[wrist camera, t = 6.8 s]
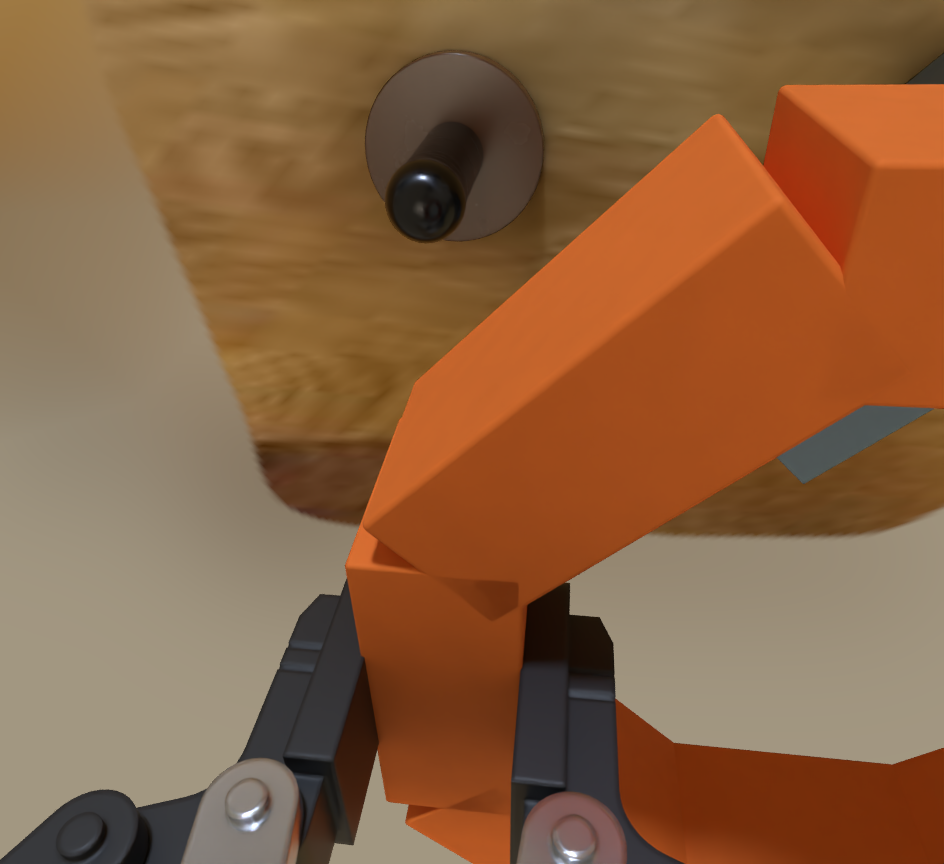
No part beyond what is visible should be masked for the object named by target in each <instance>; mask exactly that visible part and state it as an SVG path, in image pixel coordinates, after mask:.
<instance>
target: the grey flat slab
mask: <svg viewBox="0 0 944 864" xmlns="http://www.w3.org/2000/svg"><path fill="white" fill-rule="evenodd" d="M906 84H944V53H943V54H942V55H941V56H939V57H938V58H937V59H936V60H935V61H933V62H932V63H931V64H930V65H928V66H927V67H926V68H925V69H924V70H922V71H921V72H920V73H919V74H917V75H916V76H915V77H914V78H913V79H911V80H910V81H909V82H908V83H906ZM933 409H934V408H917V407H894V406H872V405H864V406H863V407H861V408H859V409H857V410H856V411H854V412H852V413H851V414H849V415H847V416H846V417H844V418H842V419H841V420H839V421H837V422H835V423H834V424H832V425H830V426H829V427H827V428H825V429H824V430H822V431H820V432H819V433H817V434H815V435H813V436H812V437H810V438H808V439H807V440H805V441H803V442H802V443H800V444H798V445H797V446H795V447H793V448H792V449H790V450H788V451H786V452H785V453H783V454H781V455H780V456H778V457H777V458H778V459H779V460H780V461H781V462H782V463H783V464H784V465H785V466H786V467H787V468H788V469H789V470H790V471H791V472H792V473H793V474H794V475H795V476H796V477H797V478H798V479H799V480H800V481H801V482H802V483H803V484H805V483H806V482H808V481H810V480H811V479H813V478H815V477H817V476H818V475H820V474H822V473H824V472H825V471H827V470H829V469H830V468H832V467H834V466H836V465H837V464H839V463H841V462H843V461H844V460H846V459H848V458H850V457H851V456H853V455H855V454H856V453H858V452H860V451H862V450H863V449H865V448H867V447H869V446H870V445H872V444H874V443H875V442H877V441H879V440H881V439H882V438H884V437H886V436H888V435H889V434H891V433H893V432H895V431H896V430H898V429H900V428H901V427H903V426H905V425H907V424H908V423H910V422H912V421H914V420H915V419H917V418H919V417H920V416H922V415H924V414H926V413H927V412H929V411H931V410H933Z"/></svg>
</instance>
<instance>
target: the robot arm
mask: <svg viewBox="0 0 944 864" xmlns="http://www.w3.org/2000/svg"><path fill="white" fill-rule="evenodd" d="M569 606H570V583H563V584H562V585H560V586H558V587H557V588H555V589H553V590H552V591H550V592H548V593H546V594H545V595H543V596H541V597H540V598H538V599H536V600H535V601H533V602H531V603H530V604H528V605H527V617H526V630H525V642H524V655H523V667H522V669H521V670H520V681H519V693H518V705H517V717H516V729H515V740H514V752H513V764H512V776H511V818H510V864H685V863H683V862H680V861H678V860H676V859H674V858H672V857H670V856H668V855H666V854H664V853H662V852H661V851H659V850H657V849H656V848H654V847H653V846H652V845H650V844H649V843H648V842H647V841H645V840H644V839H643V838H642V837H641V836H640V835H639V833H638V832H637V831H636V830H635V828H634V827H633V826H632V824H631V823H630V821H629V819H628V818H627V815H626V813H625V811H624V809H623V805H622V802H621V798H620V790H619V768H618V745H617V721H616V702H615V678H614V653H613V652H614V650H613V642H612V640H611V638H610V636H609V635H608V632H607V631H606V629H605V627H604V625H603V623H602V621H601V619H600V617H589V616H578V615H569ZM378 745H379V740H378V734H377V728H376V723H375V717H374V711H373V705H372V699H371V693H370V687H369V681H368V675H367V670H366V664H365V658H364V657H363V656H361V654H360V648H359V642H358V637H357V631H356V625H355V619H354V614H353V608H352V602H351V597H350V591H349V585H348V580H347V579H346V582H345V585H344V587H343V590H342V593H341V596H337V595H325V594H320V595H319V596H318V597H317V598H316V599H315V600H314V601H313V602H312V604H311V605H310V606H309V607H308V608H307V609H306V610H305V611H304V612H303V613H302V614H301V615H300V616H299V619H298V621H297V623H296V626H295V628H294V631H293V633H292V636H291V638H290V640H289V646H288V648H286V650H285V653H284V655H283V658H282V660H281V662H280V668H279V669H278V670H277V672H276V675H275V677H274V679H273V682H272V684H271V687H270V689H269V691H268V694H267V696H266V699H265V701H264V704H263V706H262V709H261V711H260V713H259V716H258V719H257V721H256V723H255V725H254V728H253V731H252V733H251V735H250V738H249V740H248V743H247V745H246V747H245V749H244V751H243V754H242V755H241V757H240V759H239V760H238V762H237V763H236V764H235V765H233V766H231V767H229V768H227V769H226V770H225V771H223V772H222V773H221V774H220V775H219V776H218V777H217V778H216V779H214V781H213V782H212V783H211V784H210V786H209V787H208V788H207V789H205V790H203V791H201V792H199V793H196V794H194V795H190V796H187V797H183V798H179V799H174V800H170V801H165V802H161V803H156V804H152V805H148V806H143V807H138V808H136V807H135V805H134V803H133V802H132V801H131V799H130V798H129V797H127V796H126V795H124V794H123V793H120V792H118V791H113V790H97V791H91V792H88V793H85V794H82V795H80V796H78V797H76V798H74V799H72V800H70V801H69V802H67V803H66V804H64V805H63V806H61V807H60V808H59V809H58V810H56V811H55V812H54V813H53V814H52V815H51V816H49V818H47V819H46V820H45V821H44V822H43V823H42V824H40V825H39V826H38V827H37V828H36V829H35V830H34V831H32V832H31V833H30V834H29V835H28V836H27V837H26V838H25V839H23V841H21V842H20V843H19V844H18V845H17V846H15V847H14V848H13V849H12V850H11V851H10V852H9V853H8V854H7V855H5V856H4V857H3V858H2V859H1V860H0V864H329V861H330V857H331V853H332V850H333V846H334V843H339V844H347V845H354V840H355V837H356V833H357V828H358V825H359V821H360V817H361V812H362V809H363V804H364V801H365V796H366V793H367V788H368V785H369V780H370V777H371V772H372V769H373V765H374V760H375V756H376V753H377V749H378Z"/></svg>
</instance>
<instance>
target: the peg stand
mask: <svg viewBox="0 0 944 864" xmlns="http://www.w3.org/2000/svg"><path fill="white" fill-rule="evenodd" d="M365 150H366V159H367V164H368V169H369V172H370V175H371V178H372V181H373V183H374V185H375V187H376V189H377V191H378V193H379V195H380V196H381V198H382V200H383V201H384V202H385V208H386V212H387V215H388V217H389V220H390V222H391V223H392V225H393V226H394V228H395V229H396V230H397V231H398V232H399V233H400V234H401V235H403V236H404V237H406V238H407V239H410V240H412V241H415V242H419V243H434V242H438V241H441V240H447V241H469V240H475V239H480V238H483V237H486V236H489V235H491V234H493V233H495V232H497V231H499V230H501V229H502V228H504V227H505V226H507V225H508V224H510V223H511V222H512V221H513V220H514V219H515V218H516V217H517V216H518V215H519V214H520V213H521V212H522V211H523V210H524V208H525V207H526V205H527V204H528V202H529V201H530V199H531V198H532V196H533V194H534V192H535V190H536V187H537V184H538V182H539V179H540V175H541V170H542V165H543V158H544V135H543V129H542V124H541V120H540V117H539V114H538V111H537V109H536V107H535V104H534V102H533V100H532V98H531V97H530V95H529V93H528V92H527V90H526V89H525V88H524V86H523V85H522V84H521V83H520V81H519V80H518V79H517V78H516V77H515V76H514V75H513V74H512V73H511V72H509V71H508V70H507V69H506V68H504V67H503V66H501V65H500V64H499V63H497V62H495V61H493V60H491V59H489V58H487V57H484V56H482V55H479V54H476V53H471V52H466V51H455V50H449V51H439V52H435V53H431V54H427V55H425V56H422V57H420V58H418V59H415V60H414V61H412V62H411V63H409V64H407V65H406V66H404V67H403V68H402V69H400V70H399V71H398V72H397V73H396V74H395V75H393V76H392V77H391V78H390V80H389V81H388V82H387V83H386V84H385V85H384V86H383V88H382V89H381V91H380V92H379V94H378V95H377V97H376V100H375V102H374V104H373V106H372V108H371V111H370V114H369V117H368V122H367V127H366V136H365Z"/></svg>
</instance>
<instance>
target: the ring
mask: <svg viewBox="0 0 944 864" xmlns="http://www.w3.org/2000/svg"><path fill="white" fill-rule="evenodd" d="M864 405H872V406H894V407H917V408H939V409H944V84H903V85H785V86H783V87H781V88H780V90H779V92H778V96H777V100H776V105H775V110H774V115H773V120H772V125H771V130H770V135H769V140H768V145H767V150H766V155H765V160H764V165H762V164H761V162H760V161H759V160H758V159H757V157H756V156H755V155H754V154H753V152H752V151H751V150H750V149H749V147H748V146H747V145H746V144H745V142H744V141H743V140H742V139H741V137H740V136H739V135H738V134H737V132H736V131H735V130H734V129H733V127H732V126H731V125H730V124H729V122H728V121H727V120H726V119H725V117H724V116H722V115H720V114H716V115H714V116H712V117H711V118H710V119H708V120H707V121H706V122H705V123H704V124H703V125H702V126H701V127H699V128H698V129H697V130H696V131H695V132H694V133H693V134H692V135H691V136H689V137H688V138H687V139H686V140H685V141H684V142H683V143H682V144H681V145H679V146H678V147H677V148H676V149H675V150H674V151H673V152H672V153H670V154H669V155H668V156H667V157H666V158H665V159H664V160H663V161H662V162H660V163H659V164H658V165H657V166H656V167H655V168H654V169H653V170H651V171H650V172H649V173H648V174H647V175H646V176H645V177H644V178H643V179H641V180H640V181H639V182H638V183H637V184H636V185H635V186H634V187H632V188H631V189H630V190H629V191H628V192H627V193H626V194H625V195H624V196H622V197H621V198H620V199H619V200H618V201H617V202H616V203H615V204H613V205H612V206H611V207H610V208H609V209H608V210H607V211H606V212H605V213H603V214H602V215H601V216H600V217H599V218H598V219H597V220H596V221H595V222H593V223H592V224H591V225H590V226H589V227H588V228H587V229H586V230H584V231H583V232H582V233H581V234H580V235H579V236H578V237H577V238H576V239H574V240H573V241H572V242H571V243H570V244H569V245H568V246H567V247H565V248H564V249H563V250H562V251H561V252H560V253H559V254H558V255H557V256H555V257H554V258H553V259H552V260H551V261H550V262H549V263H548V264H546V265H545V266H544V267H543V268H542V269H541V270H540V271H539V272H538V273H536V274H535V275H534V276H533V277H532V278H531V279H530V280H529V281H528V282H526V283H525V284H524V285H523V286H522V287H521V288H520V289H519V290H517V291H516V292H515V293H514V294H513V295H512V296H511V297H510V298H509V299H507V300H506V301H505V302H504V303H503V304H502V305H501V306H500V307H498V308H497V309H496V310H495V311H494V312H493V313H492V314H491V315H490V316H488V317H487V318H486V319H485V320H484V321H483V322H482V323H481V324H479V325H478V326H477V327H476V328H475V329H474V330H473V331H472V332H471V333H469V334H468V335H467V336H466V337H465V338H464V339H463V340H462V341H460V342H459V343H458V344H457V345H456V346H455V347H454V348H453V349H452V350H450V351H449V352H448V353H447V354H446V355H445V356H444V357H443V358H442V359H440V360H439V361H438V362H437V363H436V364H435V365H434V366H433V367H431V368H430V369H429V370H428V371H427V372H426V373H425V374H424V375H423V376H421V377H420V378H419V379H418V380H417V381H416V382H415V384H414V386H413V389H412V391H411V394H410V397H409V400H408V402H407V405H406V408H405V410H404V413H403V416H402V418H400V419H399V422H398V425H397V427H396V430H395V433H394V435H393V438H392V441H391V443H390V446H389V449H388V451H387V454H386V457H385V459H384V462H383V465H382V467H381V470H380V473H379V476H378V478H377V481H376V484H375V486H374V489H373V492H372V494H371V497H370V500H369V502H368V505H367V508H366V510H365V513H364V516H363V518H362V521H361V524H360V526H359V529H358V532H357V534H356V537H355V540H354V543H353V545H352V548H351V551H350V553H349V556H348V559H347V561H346V564H345V568H346V574H347V580H348V585H349V591H350V597H351V602H352V608H353V614H354V619H355V625H356V631H357V637H358V642H359V648H360V654H361V656H363V657H364V658H365V664H366V670H367V675H368V681H369V687H370V693H371V699H372V705H373V711H374V717H375V723H376V728H377V734H378V740H379V745H378V749H377V750H378V756H379V761H380V766H381V773H382V778H383V783H384V789H385V795H386V800H387V801H388V802H393V803H401V804H409V806H408V812H407V816H406V822H405V823H406V824H407V825H408V826H410V827H412V828H413V829H415V830H417V831H418V832H420V833H422V834H423V835H425V836H427V837H429V838H430V839H432V840H434V841H435V842H437V843H439V844H440V845H442V846H444V847H445V848H447V849H449V850H451V851H452V852H454V853H456V854H457V855H459V856H461V857H462V858H464V859H466V860H468V861H469V862H471V863H473V864H510V818H511V776H512V764H513V752H514V740H515V729H516V717H517V705H518V693H519V681H520V670H521V669H522V667H523V655H524V642H525V630H526V617H527V605H528V604H530V603H531V602H533V601H535V600H536V599H538V598H540V597H541V596H543V595H545V594H546V593H548V592H550V591H552V590H553V589H555V588H557V587H558V586H560V585H562V584H563V583H565V582H567V581H568V580H570V579H572V578H573V577H575V576H577V575H579V574H580V573H582V572H584V571H585V570H587V569H589V568H590V567H592V566H594V565H595V564H597V563H599V562H601V561H602V560H604V559H606V558H607V557H609V556H610V555H612V554H614V553H616V552H617V551H619V550H621V549H622V548H624V547H626V546H627V545H629V544H631V543H633V542H634V541H636V540H638V539H639V538H641V537H643V536H644V535H646V534H648V533H650V532H651V531H653V530H655V529H656V528H658V527H660V526H661V525H663V524H665V523H666V522H668V521H670V520H672V519H673V518H675V517H677V516H678V515H680V514H682V513H683V512H685V511H687V510H688V509H690V508H692V507H693V506H695V505H697V504H699V503H700V502H702V501H704V500H705V499H707V498H709V497H710V496H712V495H714V494H715V493H717V492H719V491H721V490H722V489H724V488H726V487H727V486H729V485H731V484H732V483H734V482H736V481H737V480H739V479H741V478H743V477H744V476H746V475H748V474H749V473H751V472H753V471H754V470H756V469H758V468H759V467H761V466H763V465H764V464H766V463H768V462H770V461H771V460H773V459H775V458H776V457H778V456H780V455H781V454H783V453H785V452H786V451H788V450H790V449H792V448H793V447H795V446H797V445H798V444H800V443H802V442H803V441H805V440H807V439H808V438H810V437H812V436H813V435H815V434H817V433H819V432H820V431H822V430H824V429H825V428H827V427H829V426H830V425H832V424H834V423H835V422H837V421H839V420H841V419H842V418H844V417H846V416H847V415H849V414H851V413H852V412H854V411H856V410H857V409H859V408H861V407H863V406H864ZM615 702H616V721H617V745H618V768H619V790H620V798H621V802H622V805H623V809H624V811H625V813H626V815H627V818H628V819H629V821H630V823H631V824H632V826H633V827H634V828H635V830H636V831H637V832H638V833H639V835H640V836H641V837H642V838H643V839H644V840H645V841H647V842H648V843H649V844H650V845H652V846H653V847H654V848H656V849H657V850H659V851H661V852H662V853H664V854H666V855H668V856H670V857H672V858H674V859H676V860H678V861H680V862H683V863H685V864H944V748H941V749H938V750H935V751H932V752H929V753H926V754H923V755H920V756H917V757H914V758H911V759H908V760H905V761H902V762H899V763H896V764H893V765H891V764H881V763H871V762H861V761H851V760H841V759H830V758H821V757H810V756H801V755H790V754H781V753H770V752H759V751H750V750H740V749H730V748H719V747H709V746H700V745H690V744H680V743H673V742H672V741H671V740H669V739H668V738H667V737H665V736H664V735H663V734H661V733H660V732H659V731H657V730H656V729H654V728H653V727H652V726H651V725H649V724H648V723H647V722H645V721H644V720H643V719H642V718H640V717H639V716H638V715H636V714H635V713H634V712H632V711H631V710H630V709H628V708H627V707H626V706H624V705H623V704H622V703H621V702H619V701H618V700H617V699H615Z"/></svg>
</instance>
